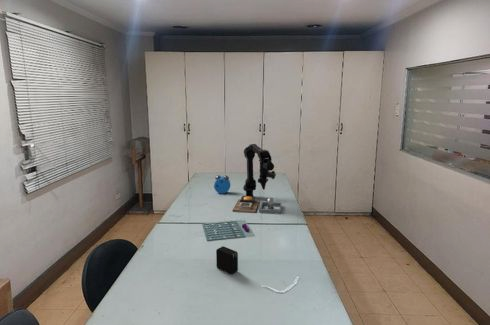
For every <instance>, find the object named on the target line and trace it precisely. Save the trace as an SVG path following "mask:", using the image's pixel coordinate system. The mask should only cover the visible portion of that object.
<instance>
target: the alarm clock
mask: <svg viewBox="0 0 490 325" xmlns="http://www.w3.org/2000/svg"><path fill="white" fill-rule="evenodd" d="M214 179H215V181H214V183H213V188H214V191H215V192H217V193H218V194H221V195H222V194H223V195H224V194H227V193H228V192H229V190H230V188H231V186H232V185H231V181H230V177H229V176H228V175H216V176H215V178H214Z"/></svg>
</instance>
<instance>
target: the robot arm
mask: <svg viewBox="0 0 490 325" xmlns="http://www.w3.org/2000/svg"><path fill="white" fill-rule="evenodd" d="M243 154H244V156H243V157H244V158H245V159H246V176H247V177H246V179H245V181H244V185H243V187H242V188H243V191H245V196H254V191H256V189H257V183H259V184H260V186H261V187H262V190H265V189H266V186H267V185H266V184H267V183H268V181H269V178H270V179H272V180H274V179H275V178H276V175H277V173H276V172H275V170H274V168H275V165H274V163H273V162H272V156H271V153H270V151H269V150H267V149H263V148H261V147H260V146H259V145H257V144H256V143H251V144H249V145H248V146H246V147H245V148H244V150H243ZM256 154H257V158H258V162H259V178H258V179H257V181H256V180H255V178H254V159H255V156H256Z"/></svg>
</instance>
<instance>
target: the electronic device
mask: <svg viewBox="0 0 490 325" xmlns="http://www.w3.org/2000/svg"><path fill="white" fill-rule="evenodd" d="M215 254H216V258H215V259H216V260H215V262H216V268H217V269H218V268H219V269H218V270H220V269H221V270H220V271H222V270H223V271H222V272H224V271H225V272H224V273H226V272H227V274H228V275H231V274H232V275H234V274H235V273H237V272H238V271H239V253H238V252H237V251H236V250H234V249H232V248H229V247H227V246H224V245H223V246H221V247H218V248H216V251H215Z"/></svg>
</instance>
